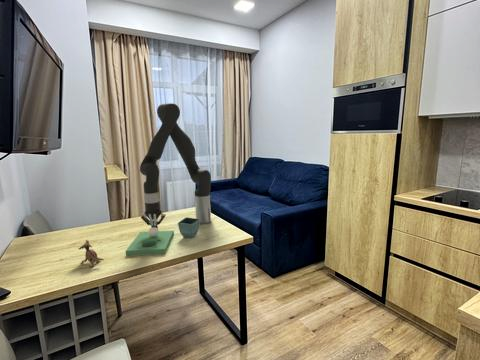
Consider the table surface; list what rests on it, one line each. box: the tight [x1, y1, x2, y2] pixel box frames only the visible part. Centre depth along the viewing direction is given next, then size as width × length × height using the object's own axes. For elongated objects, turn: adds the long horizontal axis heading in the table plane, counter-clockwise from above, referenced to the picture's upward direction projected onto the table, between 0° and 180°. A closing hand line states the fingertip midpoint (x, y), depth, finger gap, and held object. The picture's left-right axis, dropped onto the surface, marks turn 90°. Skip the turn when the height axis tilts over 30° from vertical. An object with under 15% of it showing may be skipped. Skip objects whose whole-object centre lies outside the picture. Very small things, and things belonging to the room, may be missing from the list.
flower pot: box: [177, 216, 200, 239], centre depth 136 cm, size 9×9×9 cm
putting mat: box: [125, 230, 175, 257], centre depth 128 cm, size 18×22×2 cm
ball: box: [147, 227, 160, 237], centre depth 131 cm, size 5×5×5 cm
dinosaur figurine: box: [78, 239, 105, 268], centre depth 110 cm, size 14×6×9 cm, turn 57°
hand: (154, 231), depth 135 cm, fingers closed
